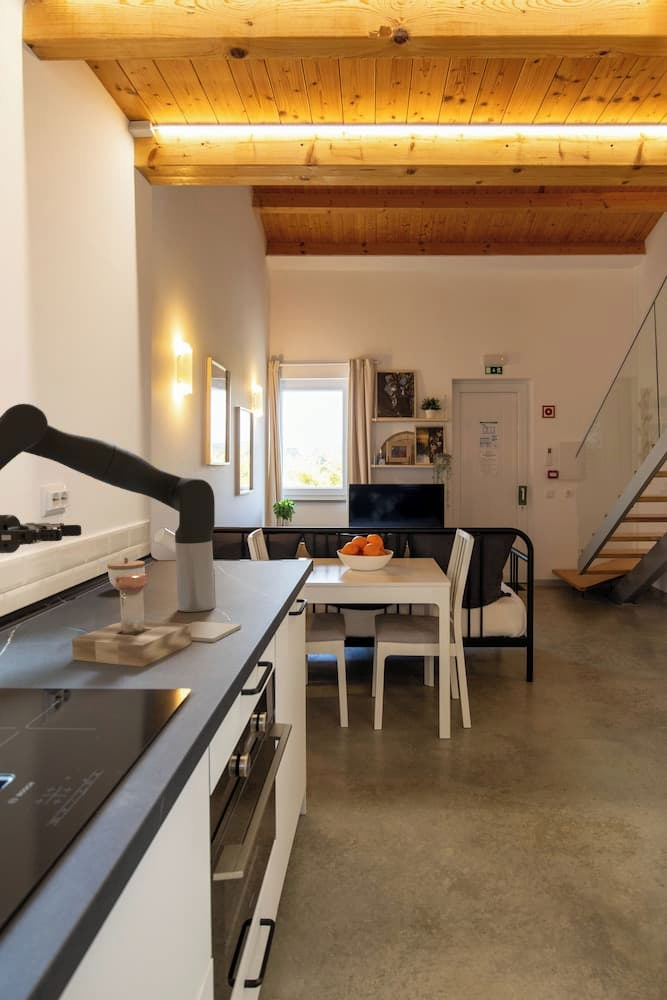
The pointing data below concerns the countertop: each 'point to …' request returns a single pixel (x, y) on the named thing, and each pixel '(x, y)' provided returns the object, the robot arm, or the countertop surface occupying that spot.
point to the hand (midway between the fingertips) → (71, 532)
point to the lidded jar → (125, 569)
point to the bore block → (131, 644)
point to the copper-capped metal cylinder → (132, 602)
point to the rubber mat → (211, 631)
